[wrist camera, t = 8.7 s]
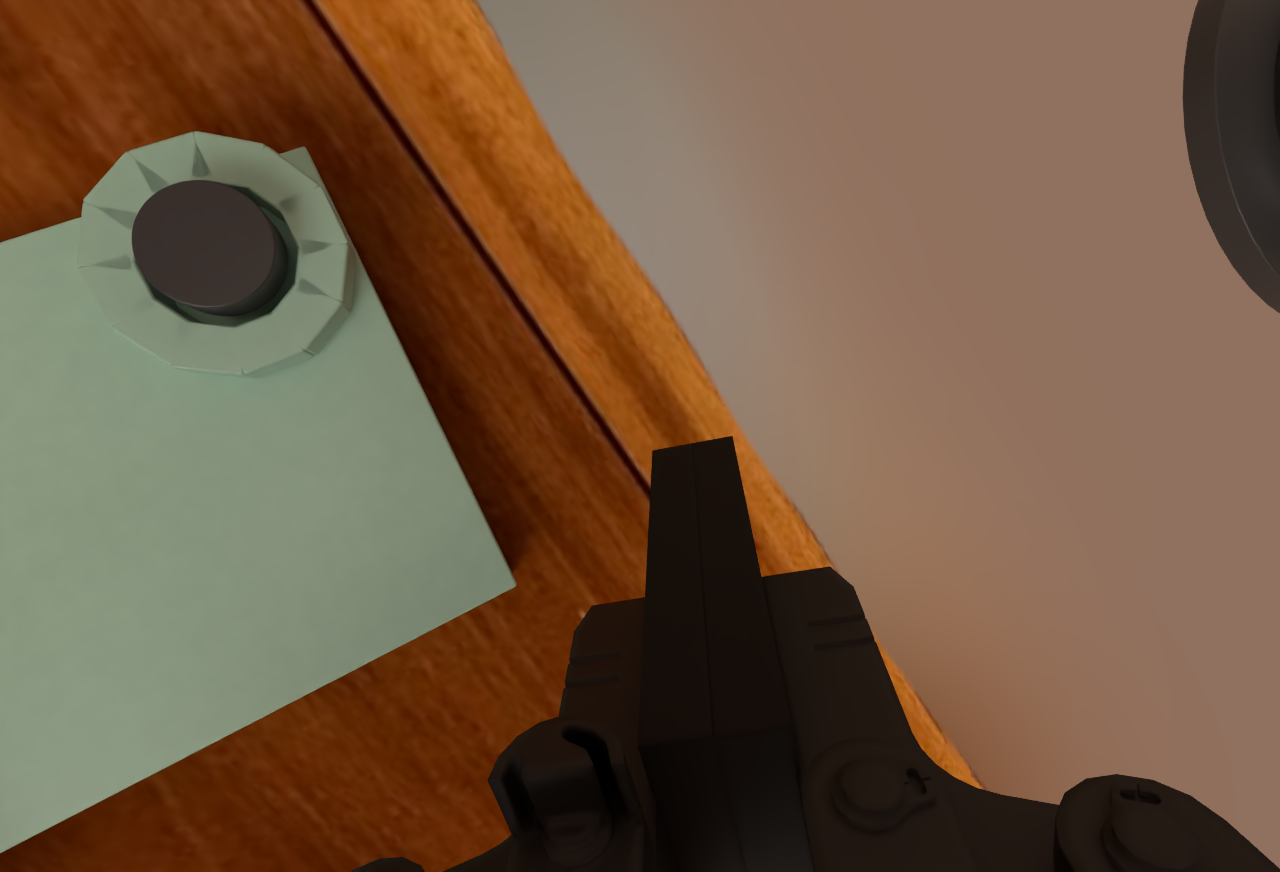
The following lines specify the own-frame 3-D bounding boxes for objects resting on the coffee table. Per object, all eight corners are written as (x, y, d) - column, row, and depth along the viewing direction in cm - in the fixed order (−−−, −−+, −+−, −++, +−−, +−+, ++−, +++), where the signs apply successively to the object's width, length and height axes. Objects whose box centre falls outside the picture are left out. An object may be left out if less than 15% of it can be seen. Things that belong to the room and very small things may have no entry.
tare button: (255, 181, 17) (239, 162, 16) (309, 290, 18) (298, 280, 16) (131, 221, 17) (104, 204, 15) (190, 334, 17) (170, 327, 16)
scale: (307, 149, 20) (283, 102, 17) (513, 576, 22) (523, 599, 19) (-358, 360, 16) (-535, 346, 13) (-36, 857, 18) (-129, 940, 15)
